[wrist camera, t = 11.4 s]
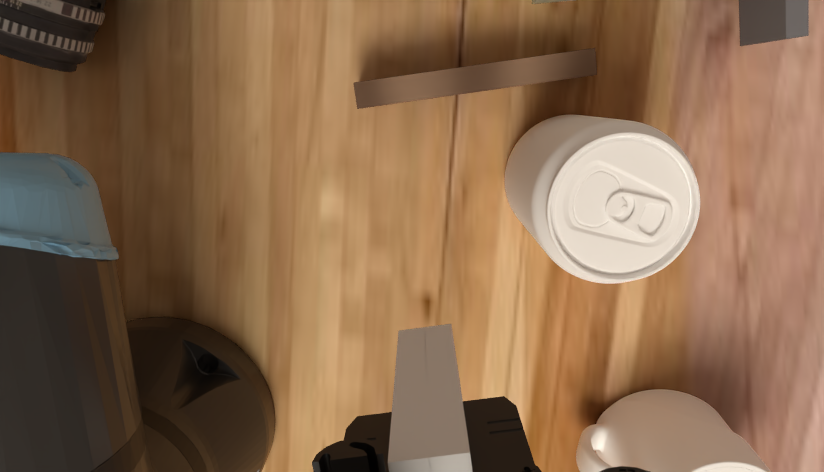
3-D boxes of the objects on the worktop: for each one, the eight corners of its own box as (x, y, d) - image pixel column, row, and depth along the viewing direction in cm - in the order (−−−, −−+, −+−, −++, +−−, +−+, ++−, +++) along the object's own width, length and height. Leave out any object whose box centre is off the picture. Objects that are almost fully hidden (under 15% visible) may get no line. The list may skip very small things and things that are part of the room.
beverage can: (530, 96, 40) (576, 96, 28) (647, 138, 40) (740, 155, 29) (485, 214, 42) (511, 260, 30) (598, 253, 42) (667, 314, 30)
